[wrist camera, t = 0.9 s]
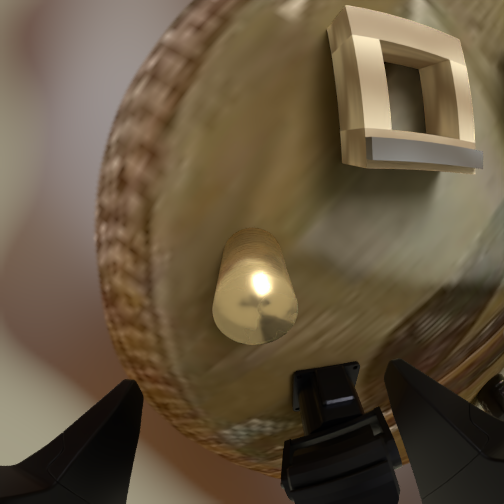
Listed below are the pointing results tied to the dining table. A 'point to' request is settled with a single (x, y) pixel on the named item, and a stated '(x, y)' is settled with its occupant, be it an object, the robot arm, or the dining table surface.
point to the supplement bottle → (493, 397)
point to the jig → (377, 99)
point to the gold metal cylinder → (254, 290)
